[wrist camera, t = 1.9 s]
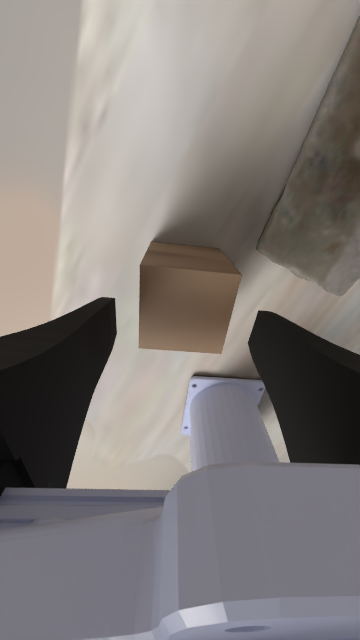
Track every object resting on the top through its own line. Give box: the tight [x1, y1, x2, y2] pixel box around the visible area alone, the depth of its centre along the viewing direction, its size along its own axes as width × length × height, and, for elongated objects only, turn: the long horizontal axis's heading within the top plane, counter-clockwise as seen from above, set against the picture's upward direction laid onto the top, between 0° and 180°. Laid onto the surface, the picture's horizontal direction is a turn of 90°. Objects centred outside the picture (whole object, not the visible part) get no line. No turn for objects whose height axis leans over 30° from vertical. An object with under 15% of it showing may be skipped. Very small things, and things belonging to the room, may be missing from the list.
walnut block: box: [139, 242, 242, 354], centre depth 14 cm, size 5×5×6 cm
